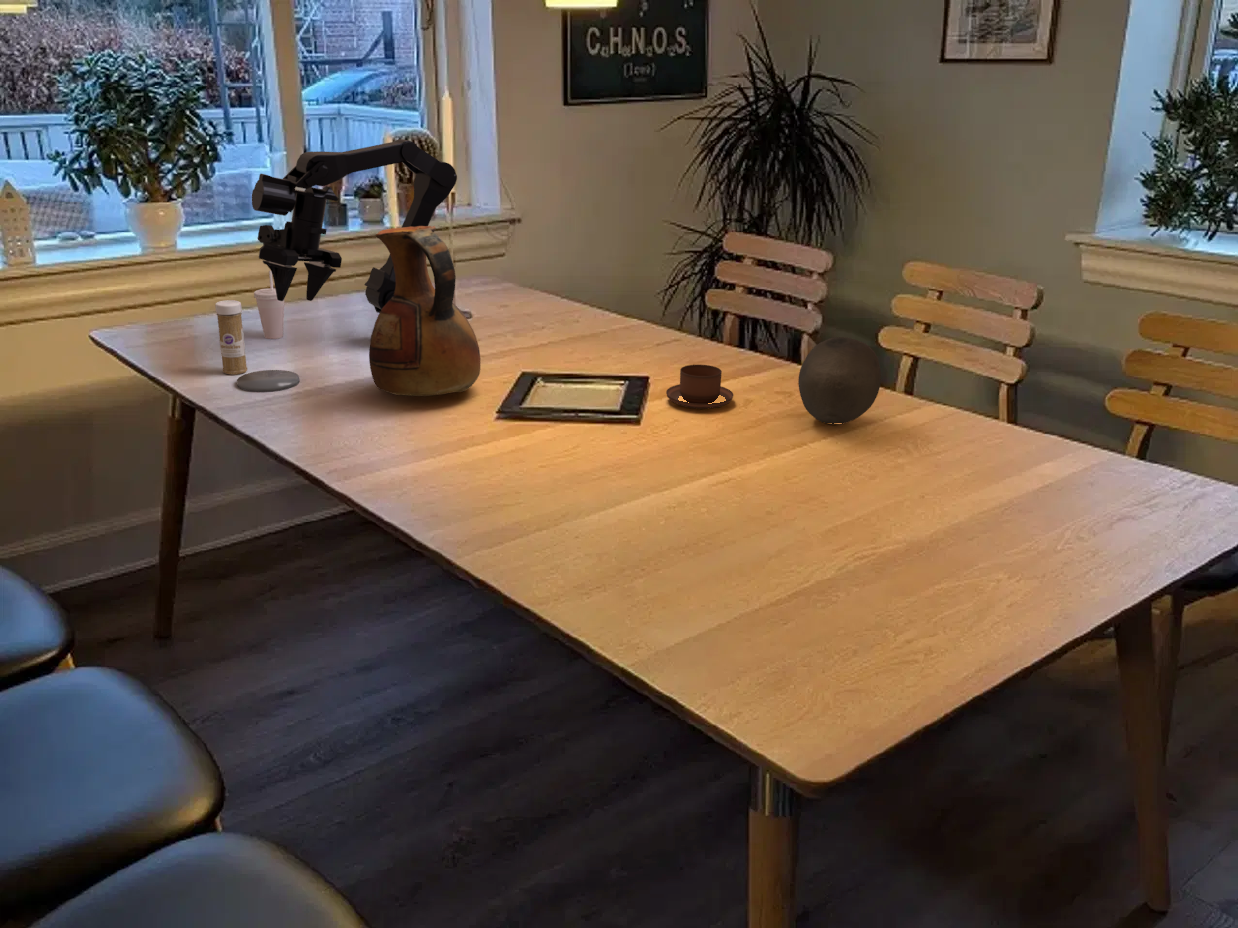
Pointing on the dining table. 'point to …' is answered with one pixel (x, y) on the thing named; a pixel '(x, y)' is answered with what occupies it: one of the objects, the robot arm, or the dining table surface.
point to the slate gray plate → (268, 380)
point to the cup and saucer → (699, 387)
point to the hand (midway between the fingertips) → (294, 300)
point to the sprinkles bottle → (231, 336)
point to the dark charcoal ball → (839, 380)
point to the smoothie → (270, 311)
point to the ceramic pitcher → (422, 322)
